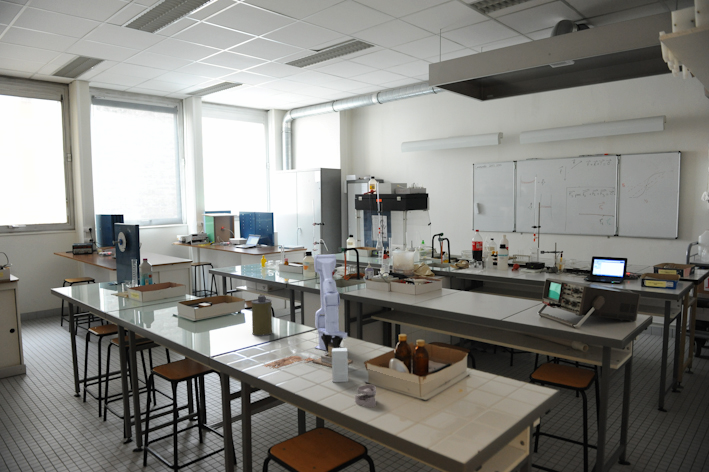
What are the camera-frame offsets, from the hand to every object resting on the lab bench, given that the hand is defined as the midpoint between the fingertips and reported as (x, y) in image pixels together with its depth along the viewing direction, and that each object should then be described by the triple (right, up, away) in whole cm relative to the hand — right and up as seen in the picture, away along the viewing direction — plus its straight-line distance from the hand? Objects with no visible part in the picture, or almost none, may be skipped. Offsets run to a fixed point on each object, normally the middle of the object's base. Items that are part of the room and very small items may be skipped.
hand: (332, 352), depth 200 cm
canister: (-39, -2, +47) cm, 61 cm away
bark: (-19, -5, 0) cm, 19 cm away
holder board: (0, -4, 0) cm, 4 cm away
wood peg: (0, -2, 0) cm, 2 cm away
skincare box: (+4, -6, -20) cm, 21 cm away
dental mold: (+14, -7, -41) cm, 44 cm away
